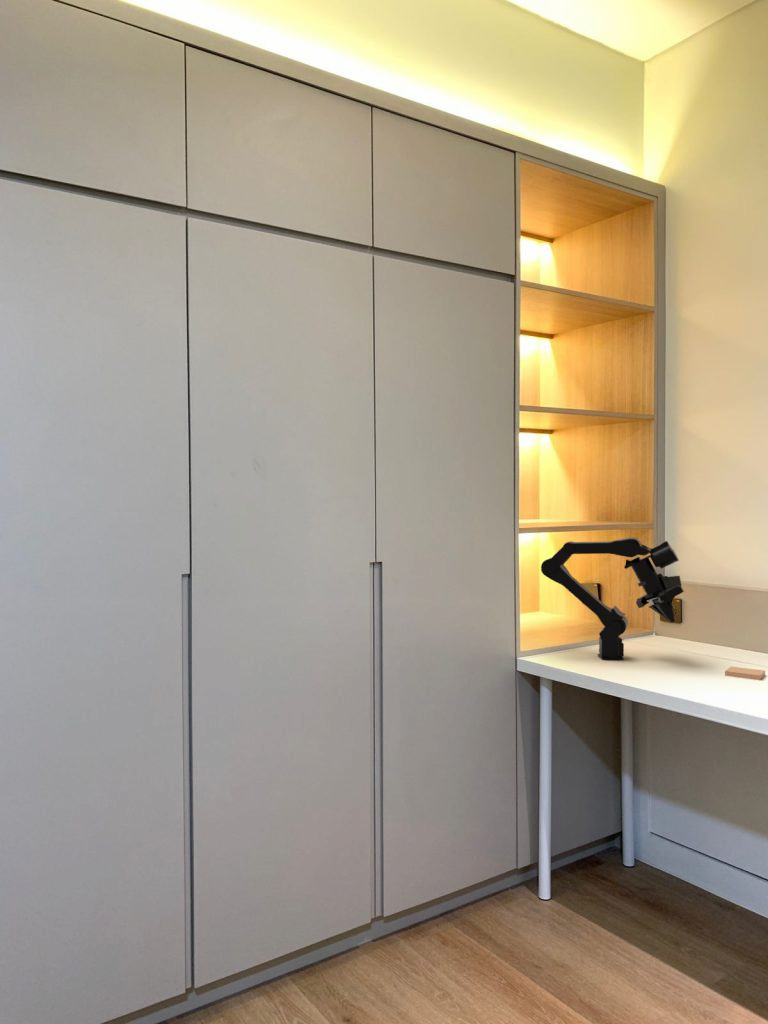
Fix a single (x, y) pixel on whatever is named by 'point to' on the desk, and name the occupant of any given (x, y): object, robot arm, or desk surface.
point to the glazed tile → (745, 673)
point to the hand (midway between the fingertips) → (672, 622)
